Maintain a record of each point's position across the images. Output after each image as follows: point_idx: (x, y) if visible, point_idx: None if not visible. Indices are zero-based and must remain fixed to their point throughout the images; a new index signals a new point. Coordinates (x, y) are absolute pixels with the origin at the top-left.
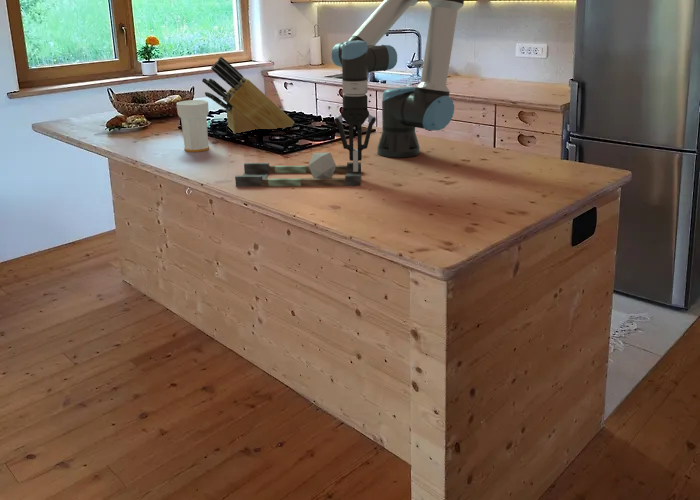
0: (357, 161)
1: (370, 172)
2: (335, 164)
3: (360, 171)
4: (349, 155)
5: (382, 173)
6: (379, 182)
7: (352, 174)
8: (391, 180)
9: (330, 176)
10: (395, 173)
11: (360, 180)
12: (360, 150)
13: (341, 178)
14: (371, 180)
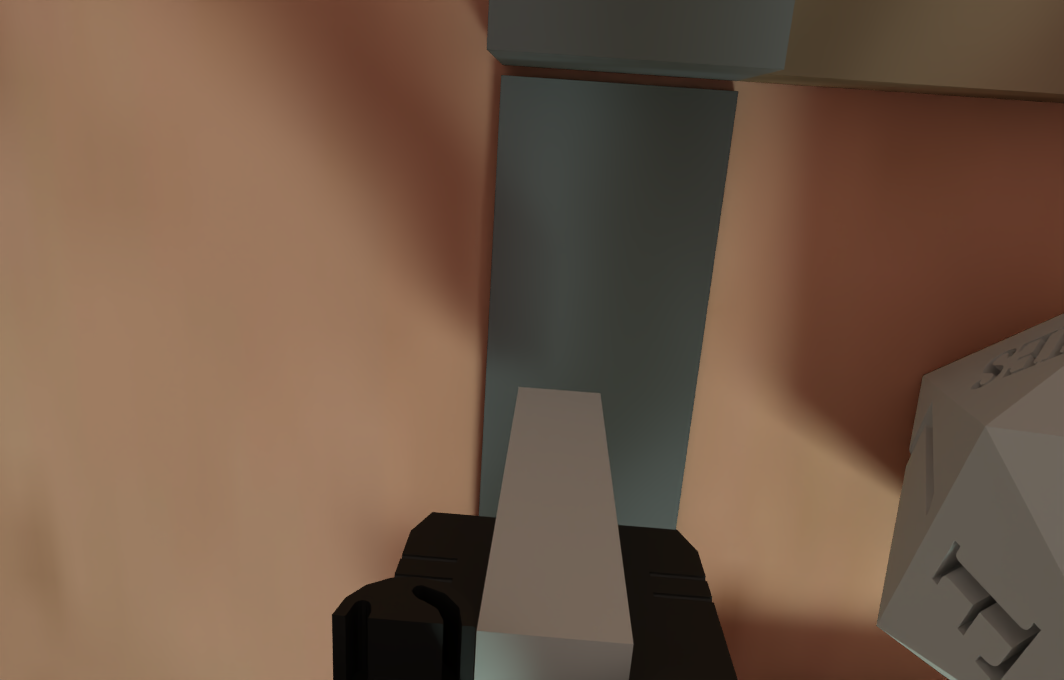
0: (513, 473)
1: None
2: (995, 440)
3: None
4: (712, 608)
5: (195, 598)
6: (209, 162)
7: None
8: (43, 256)
9: (965, 365)
10: (28, 581)
11: (492, 258)
12: (379, 596)
13: (842, 59)
14: (331, 282)
